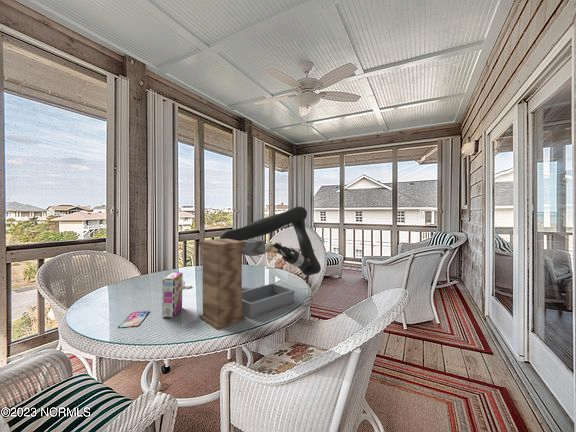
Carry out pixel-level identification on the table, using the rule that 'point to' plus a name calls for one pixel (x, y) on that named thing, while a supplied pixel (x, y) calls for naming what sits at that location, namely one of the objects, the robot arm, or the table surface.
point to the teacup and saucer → (185, 285)
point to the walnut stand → (222, 282)
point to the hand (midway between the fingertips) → (272, 244)
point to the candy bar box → (172, 295)
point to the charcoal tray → (265, 299)
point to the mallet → (257, 247)
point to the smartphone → (134, 319)
